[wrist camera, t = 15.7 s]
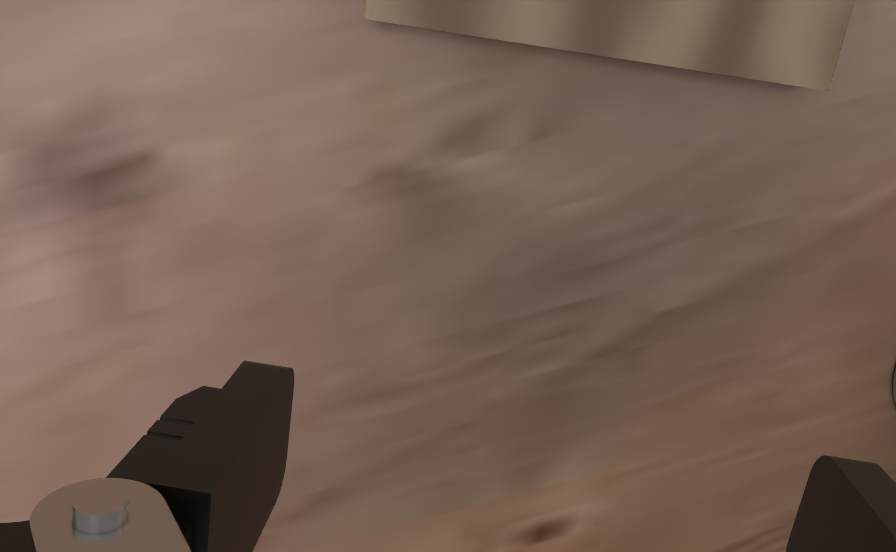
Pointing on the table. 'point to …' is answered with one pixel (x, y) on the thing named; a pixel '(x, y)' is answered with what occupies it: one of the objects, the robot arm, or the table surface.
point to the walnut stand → (655, 31)
